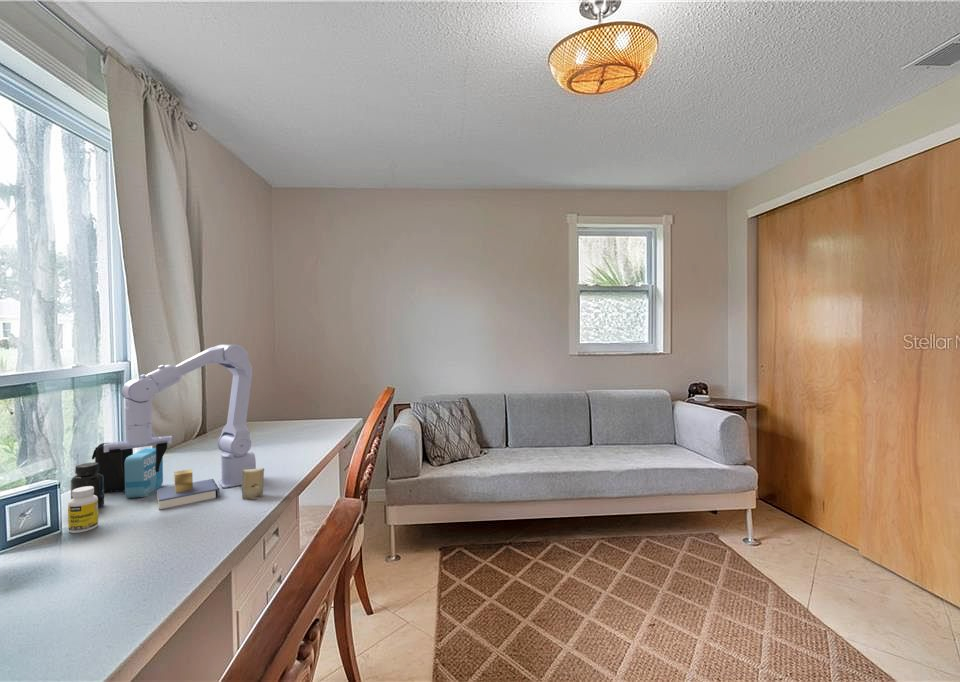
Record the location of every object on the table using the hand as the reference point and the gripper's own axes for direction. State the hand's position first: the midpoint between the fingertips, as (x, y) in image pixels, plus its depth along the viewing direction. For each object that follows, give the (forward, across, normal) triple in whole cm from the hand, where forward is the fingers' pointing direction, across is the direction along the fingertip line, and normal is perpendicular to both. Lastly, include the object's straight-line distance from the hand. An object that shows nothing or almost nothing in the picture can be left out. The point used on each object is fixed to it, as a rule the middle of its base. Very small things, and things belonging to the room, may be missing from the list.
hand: (139, 474), depth 120 cm
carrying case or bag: (+10, +6, -22) cm, 25 cm away
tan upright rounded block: (+10, -26, +10) cm, 29 cm away
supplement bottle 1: (+10, +11, -9) cm, 17 cm away
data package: (+10, -2, -15) cm, 18 cm away
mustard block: (+7, -10, -1) cm, 12 cm away
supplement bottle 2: (+10, +11, +7) cm, 16 cm away
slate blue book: (+10, -11, -1) cm, 15 cm away
